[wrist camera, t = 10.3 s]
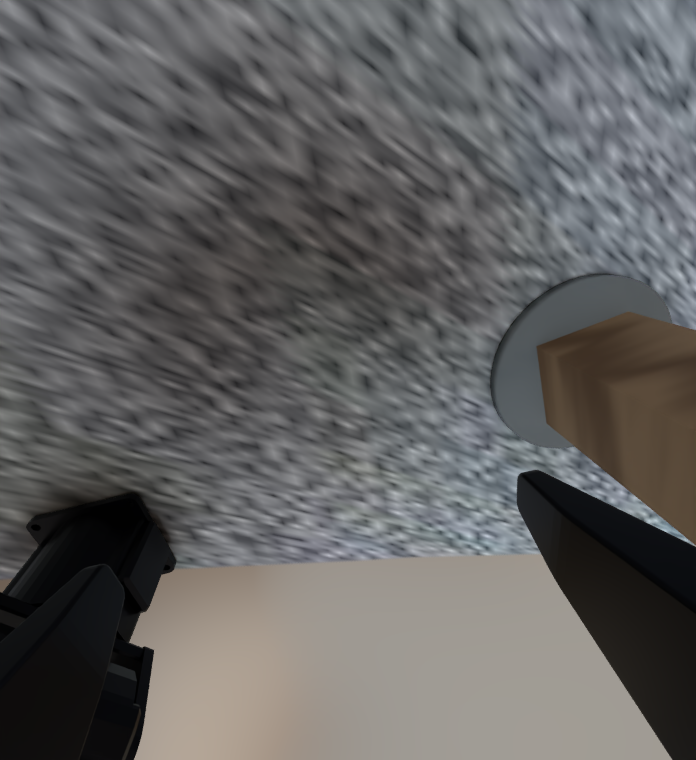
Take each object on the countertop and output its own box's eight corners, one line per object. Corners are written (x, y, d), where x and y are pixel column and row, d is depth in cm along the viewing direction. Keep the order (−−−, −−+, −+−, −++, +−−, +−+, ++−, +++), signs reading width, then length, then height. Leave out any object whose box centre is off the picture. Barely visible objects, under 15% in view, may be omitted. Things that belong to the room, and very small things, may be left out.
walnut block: (546, 423, 23) (768, 604, 12) (536, 346, 21) (797, 484, 10) (629, 392, 23) (926, 547, 12) (628, 311, 21) (993, 414, 10)
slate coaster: (493, 458, 25) (499, 465, 24) (487, 298, 20) (494, 301, 20) (646, 420, 25) (657, 425, 25) (675, 254, 21) (689, 256, 20)
